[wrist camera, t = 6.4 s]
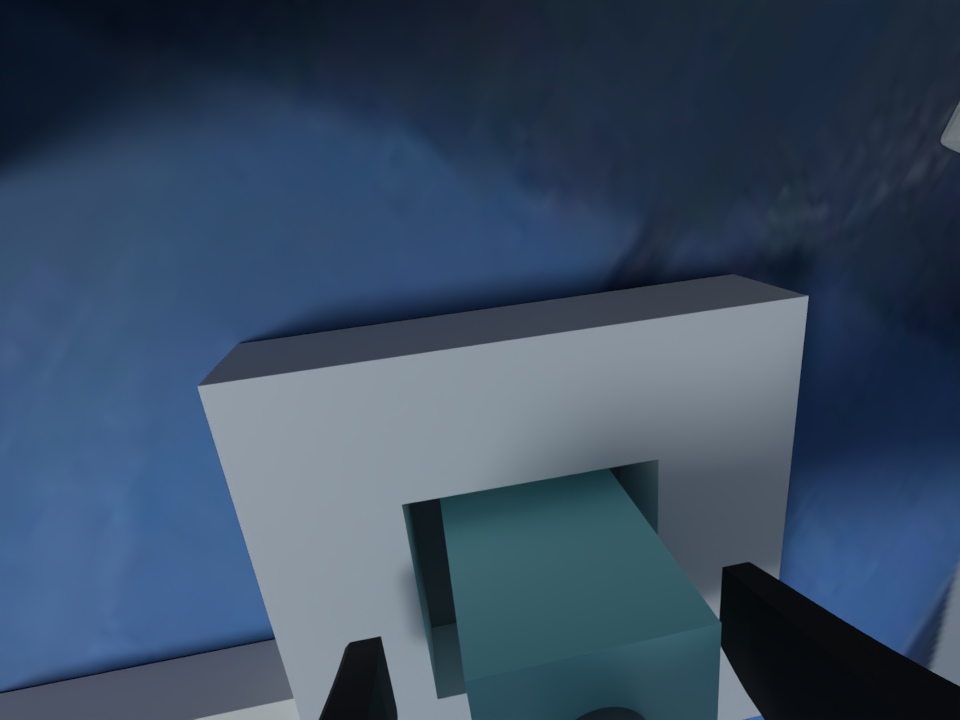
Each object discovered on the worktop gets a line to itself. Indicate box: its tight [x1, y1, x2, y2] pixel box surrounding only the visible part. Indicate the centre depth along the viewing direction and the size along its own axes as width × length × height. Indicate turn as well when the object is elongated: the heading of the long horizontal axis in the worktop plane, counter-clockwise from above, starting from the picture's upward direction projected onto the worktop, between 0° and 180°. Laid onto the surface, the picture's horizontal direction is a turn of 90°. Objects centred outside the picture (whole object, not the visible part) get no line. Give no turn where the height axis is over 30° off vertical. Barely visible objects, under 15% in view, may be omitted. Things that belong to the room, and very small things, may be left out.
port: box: [197, 274, 809, 720], centre depth 14 cm, size 12×12×3 cm
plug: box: [440, 468, 722, 720], centre depth 11 cm, size 4×4×7 cm
